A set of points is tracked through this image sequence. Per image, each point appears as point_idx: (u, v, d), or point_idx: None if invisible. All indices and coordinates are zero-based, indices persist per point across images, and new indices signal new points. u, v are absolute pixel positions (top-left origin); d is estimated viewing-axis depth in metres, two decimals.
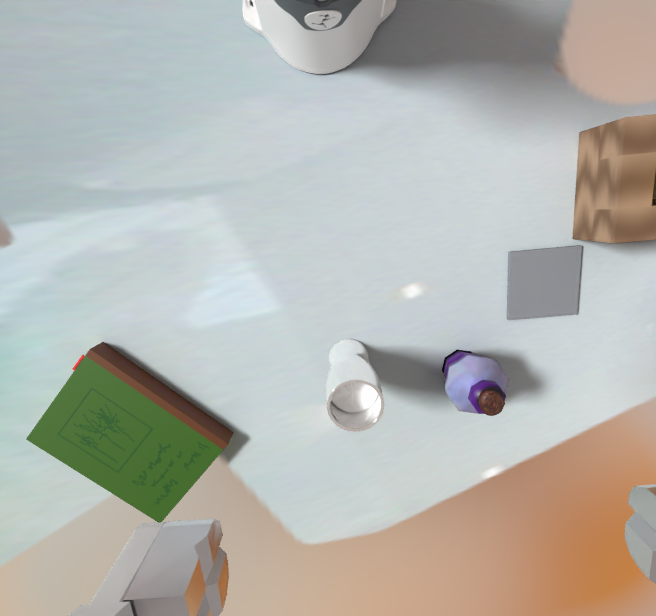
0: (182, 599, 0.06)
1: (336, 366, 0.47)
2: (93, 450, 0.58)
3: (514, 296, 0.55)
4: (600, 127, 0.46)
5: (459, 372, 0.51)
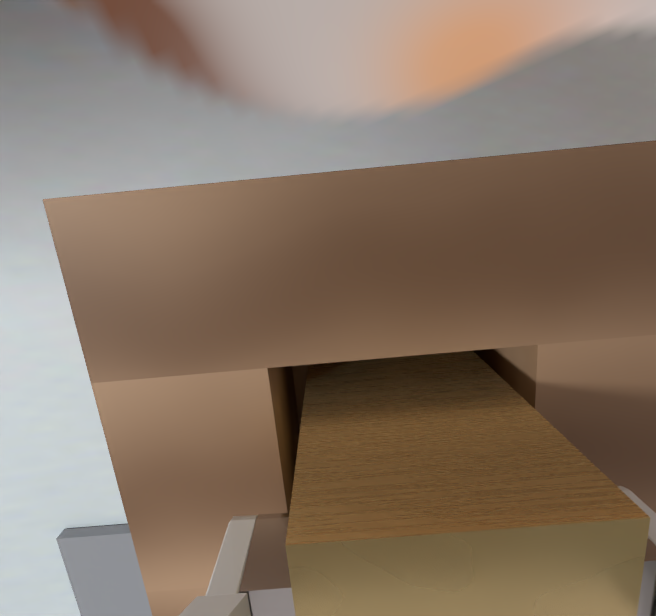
0: None
1: None
2: None
3: None
4: None
5: None
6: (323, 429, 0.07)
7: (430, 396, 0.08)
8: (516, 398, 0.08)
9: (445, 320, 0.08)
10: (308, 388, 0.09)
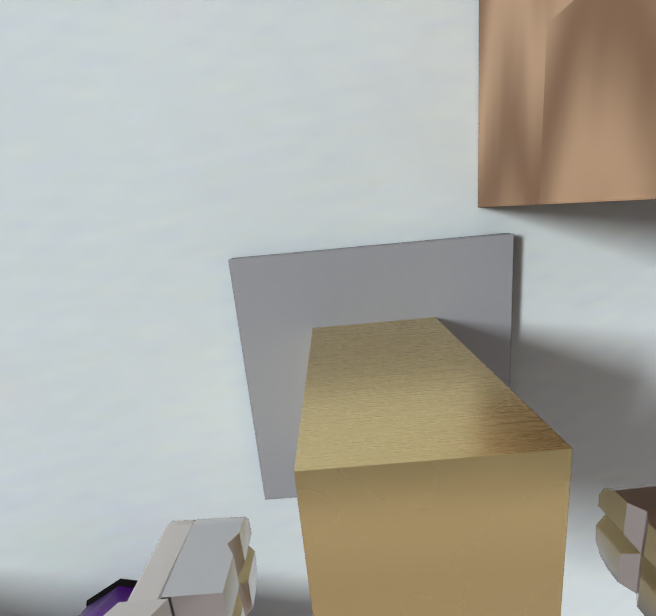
0: (219, 596, 0.06)
1: None
2: None
3: (272, 422, 0.15)
4: None
5: None
6: (323, 396, 0.09)
7: (413, 371, 0.09)
8: (485, 371, 0.09)
9: None
10: (310, 366, 0.10)
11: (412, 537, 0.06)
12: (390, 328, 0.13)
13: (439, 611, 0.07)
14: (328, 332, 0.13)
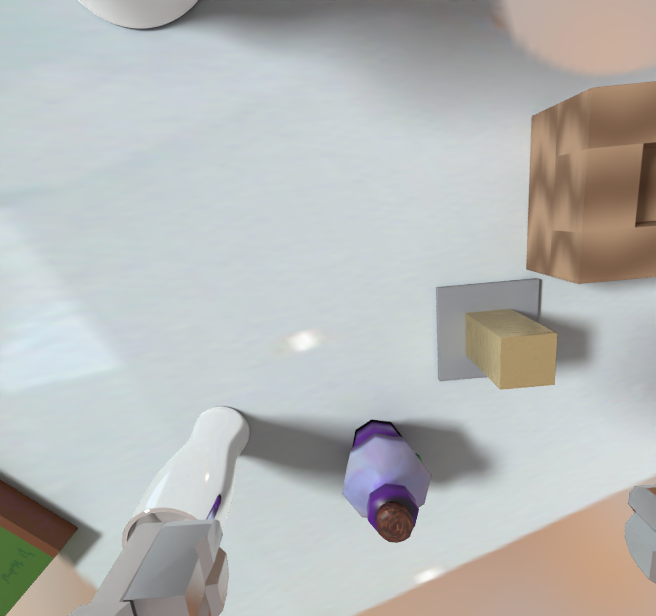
0: (182, 599, 0.06)
1: (163, 467, 0.32)
2: None
3: (446, 349, 0.39)
4: (557, 107, 0.30)
5: (358, 467, 0.35)
6: (493, 328, 0.33)
7: (514, 323, 0.34)
8: (535, 322, 0.33)
9: None
10: (480, 322, 0.35)
11: (523, 353, 0.31)
12: (496, 312, 0.37)
13: (528, 372, 0.31)
14: (473, 314, 0.37)
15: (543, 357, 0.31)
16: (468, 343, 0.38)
